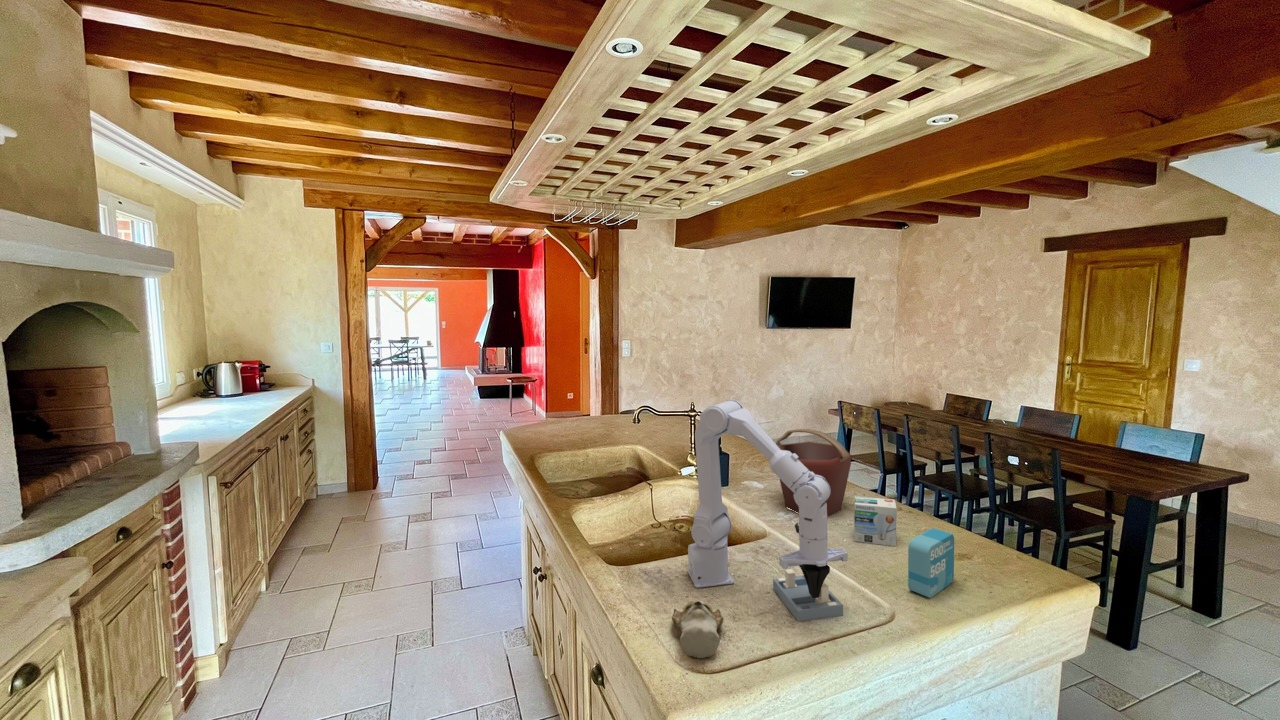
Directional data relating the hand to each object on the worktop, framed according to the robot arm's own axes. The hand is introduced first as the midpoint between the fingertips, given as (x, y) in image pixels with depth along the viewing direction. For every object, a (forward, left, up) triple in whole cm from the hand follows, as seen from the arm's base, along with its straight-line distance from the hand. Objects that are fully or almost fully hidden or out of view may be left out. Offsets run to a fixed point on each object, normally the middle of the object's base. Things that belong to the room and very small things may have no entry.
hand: (814, 595), depth 111 cm
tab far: (-2, +7, -2) cm, 8 cm away
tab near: (+2, 0, -2) cm, 3 cm away
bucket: (+27, +54, -4) cm, 60 cm away
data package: (+30, +3, -4) cm, 30 cm away
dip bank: (0, +4, -3) cm, 5 cm away
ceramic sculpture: (-27, -5, -4) cm, 27 cm away
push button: (+8, +21, -4) cm, 23 cm away
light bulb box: (+32, +28, -4) cm, 43 cm away
